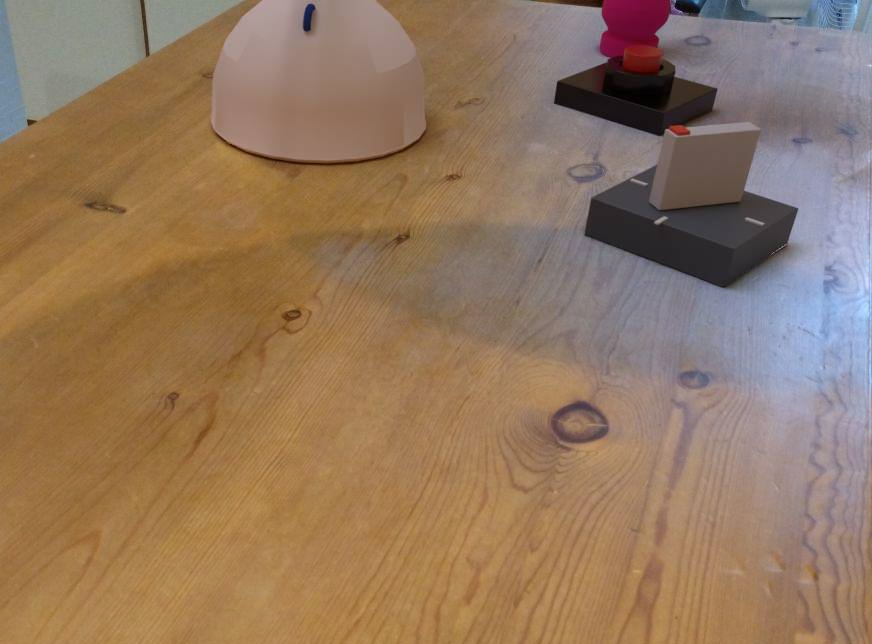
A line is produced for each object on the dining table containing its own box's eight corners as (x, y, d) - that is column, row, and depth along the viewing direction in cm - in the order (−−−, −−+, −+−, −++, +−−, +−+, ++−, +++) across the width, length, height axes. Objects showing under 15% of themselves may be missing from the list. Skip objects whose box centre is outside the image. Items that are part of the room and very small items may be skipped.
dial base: (790, 242, 82) (803, 203, 80) (719, 290, 76) (731, 249, 74) (655, 196, 88) (663, 159, 86) (579, 236, 82) (586, 197, 80)
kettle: (437, 95, 106) (454, -114, 94) (412, 174, 91) (430, -64, 79) (240, 79, 109) (233, -127, 97) (183, 154, 93) (167, -81, 81)
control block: (712, 111, 104) (723, 68, 102) (659, 136, 99) (669, 92, 96) (608, 81, 111) (616, 40, 108) (553, 103, 105) (559, 61, 102)
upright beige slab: (729, 193, 82) (750, 117, 78) (740, 202, 80) (762, 125, 77) (648, 202, 80) (665, 125, 76) (658, 210, 79) (676, 133, 75)
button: (666, 70, 102) (670, 51, 101) (646, 78, 100) (650, 58, 99) (634, 61, 104) (637, 42, 103) (614, 69, 102) (617, 50, 101)
